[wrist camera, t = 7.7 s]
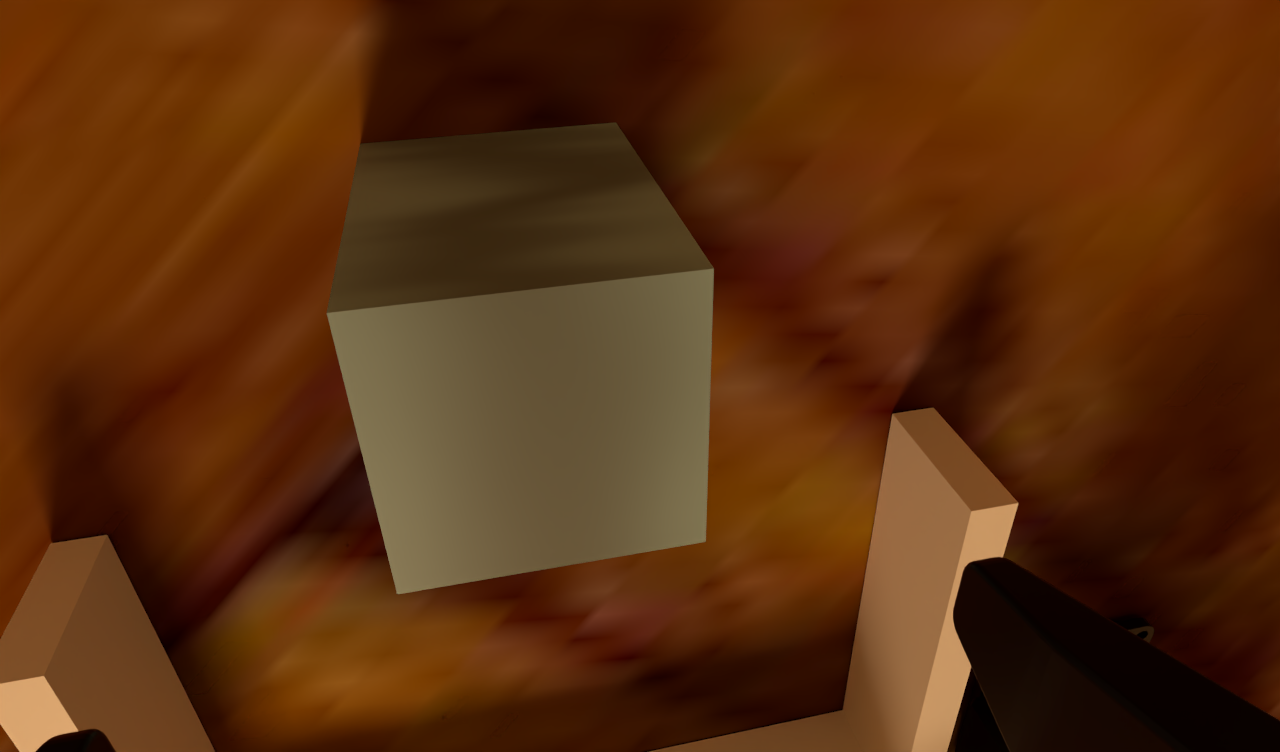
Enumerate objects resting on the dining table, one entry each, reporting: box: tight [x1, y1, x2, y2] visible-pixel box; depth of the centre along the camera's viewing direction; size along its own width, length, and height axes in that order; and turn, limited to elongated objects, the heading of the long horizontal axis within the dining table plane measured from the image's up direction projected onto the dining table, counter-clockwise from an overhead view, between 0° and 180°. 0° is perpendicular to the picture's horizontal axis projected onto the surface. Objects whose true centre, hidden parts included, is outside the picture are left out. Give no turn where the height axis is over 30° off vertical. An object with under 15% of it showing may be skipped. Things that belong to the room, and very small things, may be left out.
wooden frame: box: [0, 408, 1018, 752], centre depth 23 cm, size 22×14×4 cm, turn 91°
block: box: [327, 122, 714, 594], centre depth 15 cm, size 5×5×7 cm
